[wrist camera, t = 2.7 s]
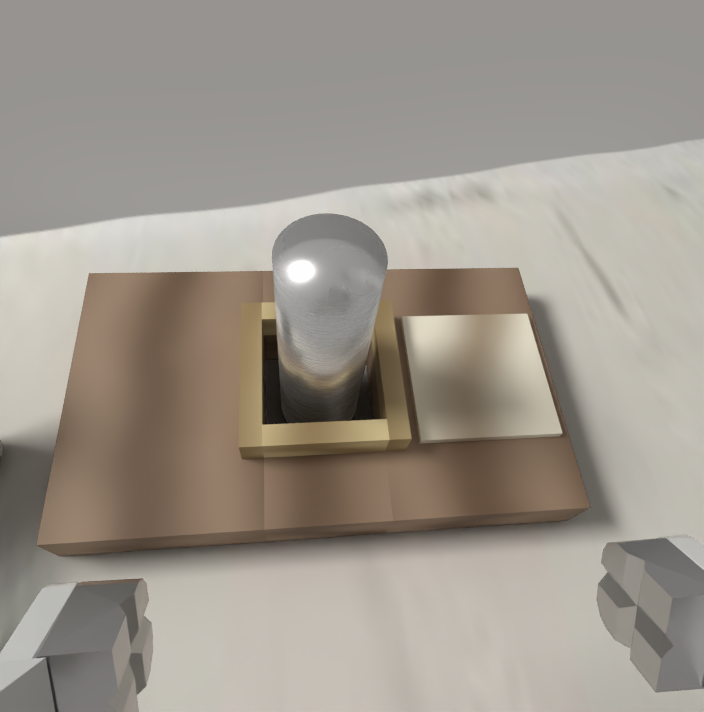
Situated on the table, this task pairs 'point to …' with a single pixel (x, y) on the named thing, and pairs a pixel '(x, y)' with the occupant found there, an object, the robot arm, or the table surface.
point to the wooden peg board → (302, 440)
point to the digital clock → (1, 448)
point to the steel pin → (325, 313)
